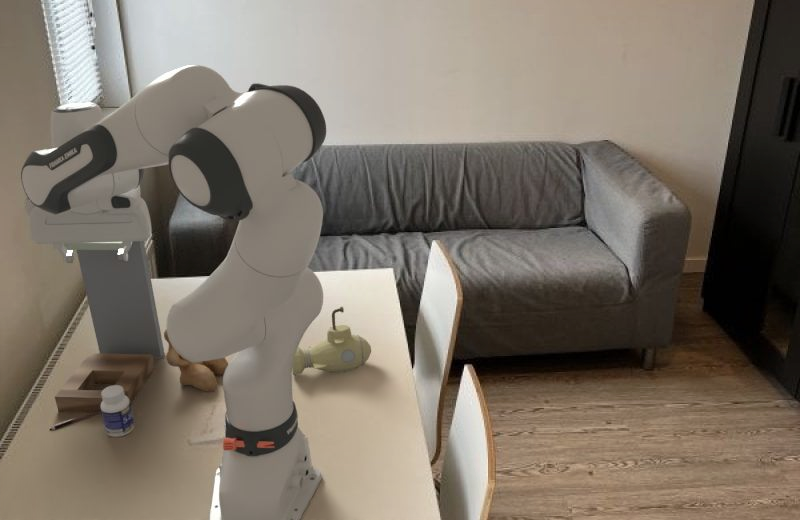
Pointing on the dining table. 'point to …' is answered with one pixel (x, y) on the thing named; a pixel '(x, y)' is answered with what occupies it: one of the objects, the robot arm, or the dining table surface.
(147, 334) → the grey pedestal stand
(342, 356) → the toy
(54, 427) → the pen
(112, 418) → the pill bottle
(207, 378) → the figurine
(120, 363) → the socket block
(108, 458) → the dining table surface
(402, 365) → the dining table surface
